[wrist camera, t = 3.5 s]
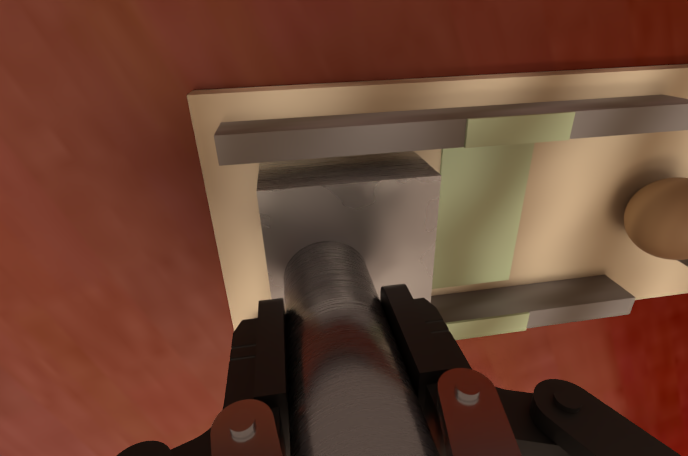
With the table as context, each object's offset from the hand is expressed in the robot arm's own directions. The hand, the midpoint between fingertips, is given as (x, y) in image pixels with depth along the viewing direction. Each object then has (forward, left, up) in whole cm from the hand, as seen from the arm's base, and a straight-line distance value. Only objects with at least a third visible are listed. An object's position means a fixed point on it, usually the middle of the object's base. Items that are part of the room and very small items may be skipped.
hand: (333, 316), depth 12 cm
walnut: (-16, 0, -5) cm, 16 cm away
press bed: (-9, 0, -7) cm, 11 cm away
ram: (-1, 0, -5) cm, 5 cm away
